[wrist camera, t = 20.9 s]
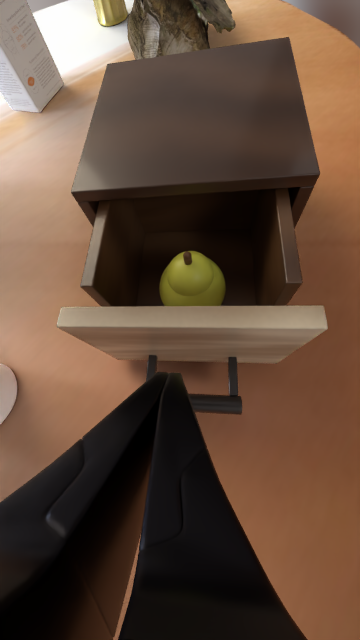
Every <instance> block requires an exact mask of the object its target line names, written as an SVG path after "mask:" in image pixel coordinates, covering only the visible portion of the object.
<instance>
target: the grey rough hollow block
mask: <svg viewBox="0 0 360 640" xmlns="http://www.w3.org/2000/svg"><path fill="white" fill-rule="evenodd" d="M231 14H232V12H231V10H230V9H229V7H228V5H227V3H226V1H225V0H134V4H133V8H132V11H131V13H130V14H129V15H128V40H129V43H130V46H131V49H132V51H133V53H134V57H135V59H136V60H138V59H145V58H152V57H159V56H165V55H172V54H179V53H185V52H192V51H199V50H205V49H210V47H209V43H208V32H207V31H208V25H209V24H208V22H209V23H210V24H213V25H214V27H215V28H216V30H217V32H219V33H221V32H222V29H226V30H227V31H229V32H230V31H231V30H233V29H234V28H235V21H234V20H233V18H232V15H231Z"/></svg>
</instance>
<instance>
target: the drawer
mask: <svg viewBox="0 0 360 640" xmlns="http://www.w3.org/2000/svg"><path fill="white" fill-rule="evenodd" d="M186 251H195V252H199V253H201V254H203V255H204V256H206V257H207V258H209V259H210V260H212V261H213V262H214V263H215V264H216V265H217V266H218V267H219V268H220V270H221V272H222V273H223V276H224V279H225V285H226V291H225V296H224V299H223V302H222V304H221V306H164V304H163V302H162V300H161V296H160V291H159V286H160V280H161V276H162V274H163V272H164V270H165V269H166V267H167V266H168V265H169V264H170V262H171V261H172V260H173V258H174V257H175V256H177V255H178V254H180V253H182V252H186ZM301 284H302V276H301V270H300V263H299V257H298V250H297V244H296V237H295V231H294V224H293V218H292V211H291V205H290V199H289V192H288V188H276V189H262V190H247V191H233V192H218V193H204V194H189V195H174V196H160V197H145V198H131V199H116V200H102V201H99V205H98V210H97V214H96V219H95V223H94V227H93V232H92V236H91V241H90V245H89V250H88V254H87V259H86V263H85V268H84V272H83V276H82V281H81V285H80V286H81V288H82V289H83V290H84V291H85V292H87V293H88V294H89V295H90V296H91V297H92V298H93V299H94V300H95V301H96V302H97V303H98V304H99V305H100V306H102V307H61V310H60V314H59V318H58V322H57V327H58V328H59V329H61V330H63V331H65V332H67V333H69V334H71V335H73V336H75V337H76V338H78V339H80V340H82V341H84V342H86V343H88V344H90V345H92V346H93V347H95V348H97V349H99V350H101V351H103V352H105V353H107V354H109V355H110V356H112V357H114V358H116V359H118V360H148V367H147V378H146V381H147V380H148V379H150V378H151V377H152V376H153V375H154V374H155V373H156V371H157V361H195V362H228V379H229V396H228V395H205V394H188V395H189V398H190V401H191V404H192V406H193V409H194V412H203V413H221V414H240V415H241V414H242V399H241V396H238V376H237V363H273V364H277V363H278V362H280V361H281V360H283V359H284V358H286V357H287V356H289V355H290V354H291V353H293V352H294V351H296V350H297V349H299V348H300V347H302V346H303V345H305V344H306V343H308V342H309V341H311V340H312V339H314V338H315V337H317V336H318V335H319V334H321V333H322V332H324V331H325V330H327V329H328V326H327V320H326V315H325V309H324V306H322V305H320V306H286V305H287V303H288V302H289V300H290V299H291V298H292V296H293V295H294V294H295V292H296V291H297V290H298V288H299V287H300V285H301Z"/></svg>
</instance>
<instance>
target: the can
mask: <svg viewBox="0 0 360 640" xmlns="http://www.w3.org/2000/svg"><path fill="white" fill-rule="evenodd" d="M17 391H18V387H17V381H16V377H15V375H14V373H13V372H12V370H11V369H10V368H9V367H8V366H6V365H4V364H1V363H0V424H1V423H2V422H3V421H4V420H5V419H6V417H7V416H8V415H9V413H10V412H11V410H12V408H13V406H14V404H15V401H16V398H17Z"/></svg>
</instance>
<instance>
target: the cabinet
mask: <svg viewBox="0 0 360 640" xmlns="http://www.w3.org/2000/svg"><path fill="white" fill-rule="evenodd" d="M319 175H320V171H319V166H318V162H317V158H316V153H315V149H314V144H313V140H312V136H311V131H310V127H309V122H308V118H307V114H306V109H305V105H304V101H303V96H302V92H301V87H300V83H299V79H298V74H297V70H296V65H295V61H294V57H293V52H292V48H291V43H290V39H289V37H286V38H279V39H272V40H266V41H259V42H252V43H246V44H239V45H232V46H226V47H219V48H212V49H205V50H199V51H192V52H185V53H179V54H172V55H165V56H159V57H152V58H145V59H138V60H132V61H125V62H118V63H112V64H107V68H106V71H105V75H104V78H103V82H102V85H101V89H100V92H99V96H98V99H97V103H96V106H95V110H94V113H93V117H92V120H91V124H90V127H89V131H88V134H87V138H86V141H85V145H84V148H83V152H82V155H81V159H80V162H79V166H78V169H77V173H76V176H75V180H74V183H73V186H72V190H71V193H72V195H73V196H74V198H75V199H76V201H77V202H78V204H79V206H80V207H81V209H82V210H83V212H84V213H85V215H86V216H87V218H88V220H89V221H90V223H91V224H92V226H93V227H94V223H95V219H96V214H97V210H98V205H99V201H102V200H116V199H131V198H145V197H160V196H174V195H189V194H204V193H218V192H233V191H247V190H262V189H276V188H288V192H289V199H290V205H291V211H292V218H293V224H294V229H295V226H296V224H297V222H298V220H299V218H300V216H301V214H302V211H303V209H304V207H305V205H306V203H307V201H308V199H309V196H310V194H311V192H312V190H313V188H314V185H315V184H316V181H317V179H318V177H319Z"/></svg>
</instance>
